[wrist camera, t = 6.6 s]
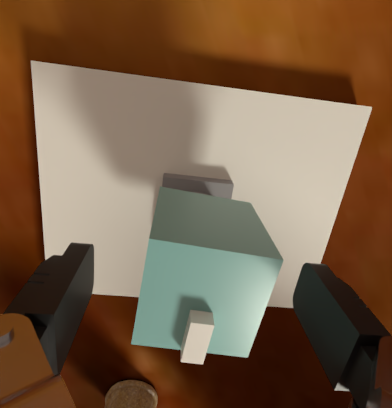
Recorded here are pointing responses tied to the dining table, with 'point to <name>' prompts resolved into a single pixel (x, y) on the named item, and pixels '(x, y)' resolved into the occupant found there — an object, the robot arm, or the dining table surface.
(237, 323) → the mint cube with tab
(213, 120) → the stud board
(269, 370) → the dining table surface
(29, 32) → the dining table surface
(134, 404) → the sprinkles bottle
